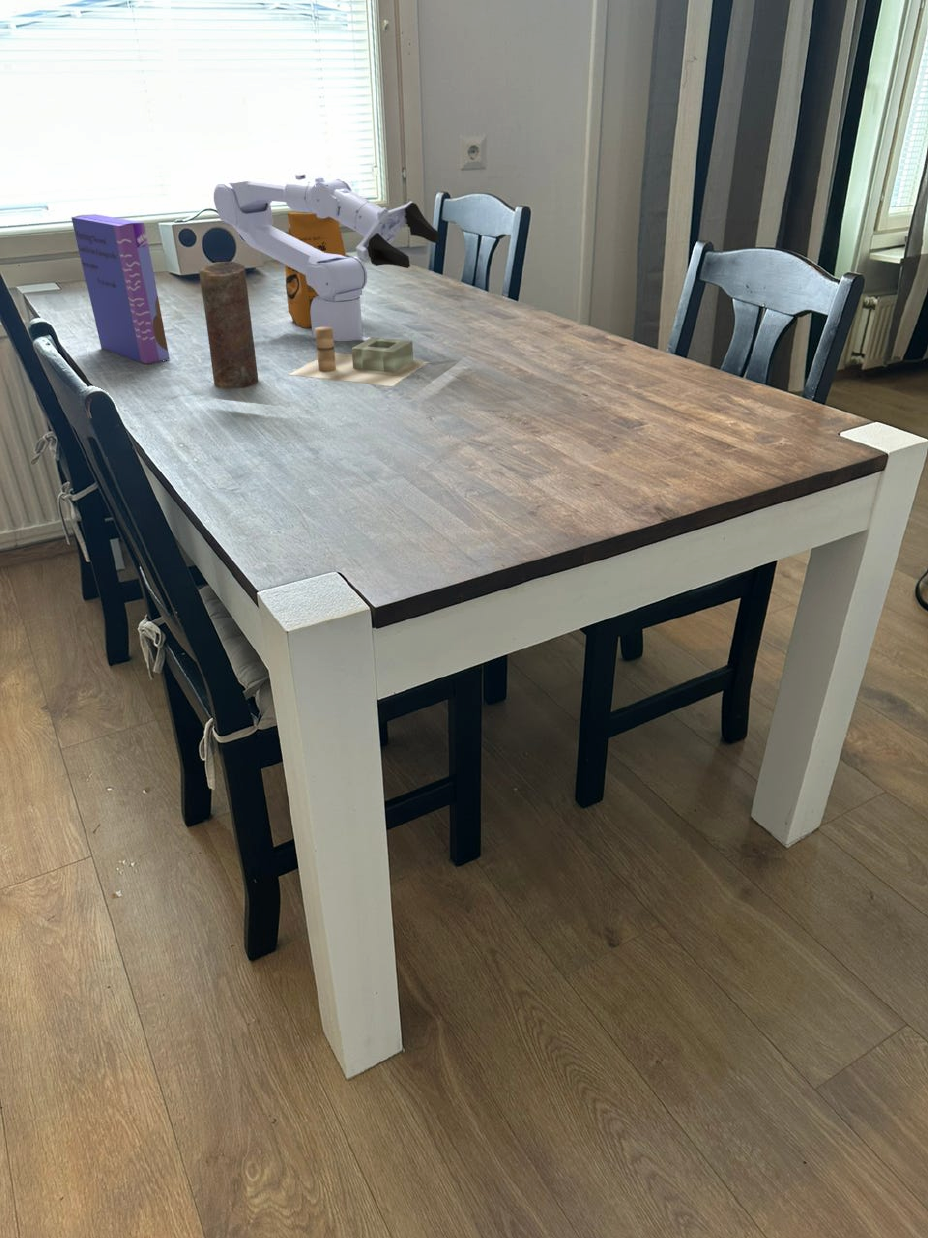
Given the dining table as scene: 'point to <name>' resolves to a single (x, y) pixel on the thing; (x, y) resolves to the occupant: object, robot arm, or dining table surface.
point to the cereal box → (121, 287)
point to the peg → (325, 349)
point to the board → (357, 373)
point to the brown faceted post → (229, 325)
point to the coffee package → (321, 237)
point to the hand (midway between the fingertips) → (422, 249)
